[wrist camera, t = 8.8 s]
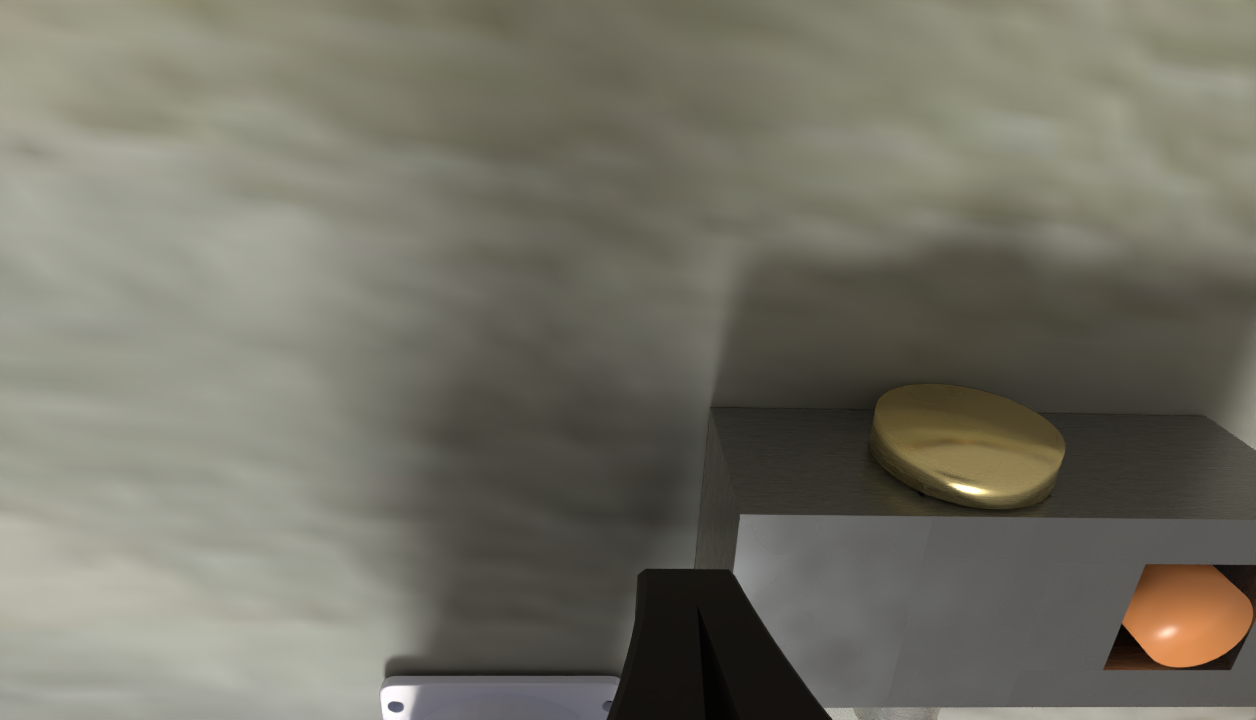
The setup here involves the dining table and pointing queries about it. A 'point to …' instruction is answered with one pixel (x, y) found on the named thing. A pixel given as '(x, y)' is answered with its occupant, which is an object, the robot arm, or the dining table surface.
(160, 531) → the dining table surface
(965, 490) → the gold headed rod
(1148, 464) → the bracket
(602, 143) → the dining table surface
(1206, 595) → the lock button
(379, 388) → the dining table surface
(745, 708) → the robot arm
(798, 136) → the dining table surface
